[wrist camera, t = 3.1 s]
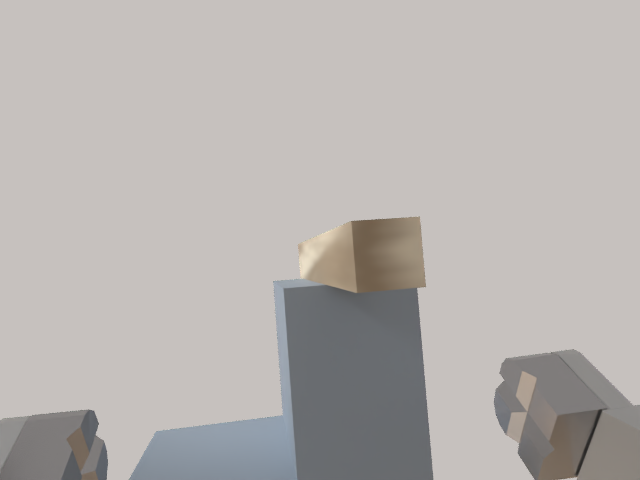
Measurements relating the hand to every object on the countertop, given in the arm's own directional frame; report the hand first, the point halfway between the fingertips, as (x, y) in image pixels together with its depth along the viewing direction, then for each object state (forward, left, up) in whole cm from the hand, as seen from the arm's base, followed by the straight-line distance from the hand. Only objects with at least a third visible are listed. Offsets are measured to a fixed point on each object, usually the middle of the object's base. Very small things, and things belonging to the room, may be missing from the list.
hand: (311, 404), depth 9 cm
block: (+5, +21, +1) cm, 21 cm away
